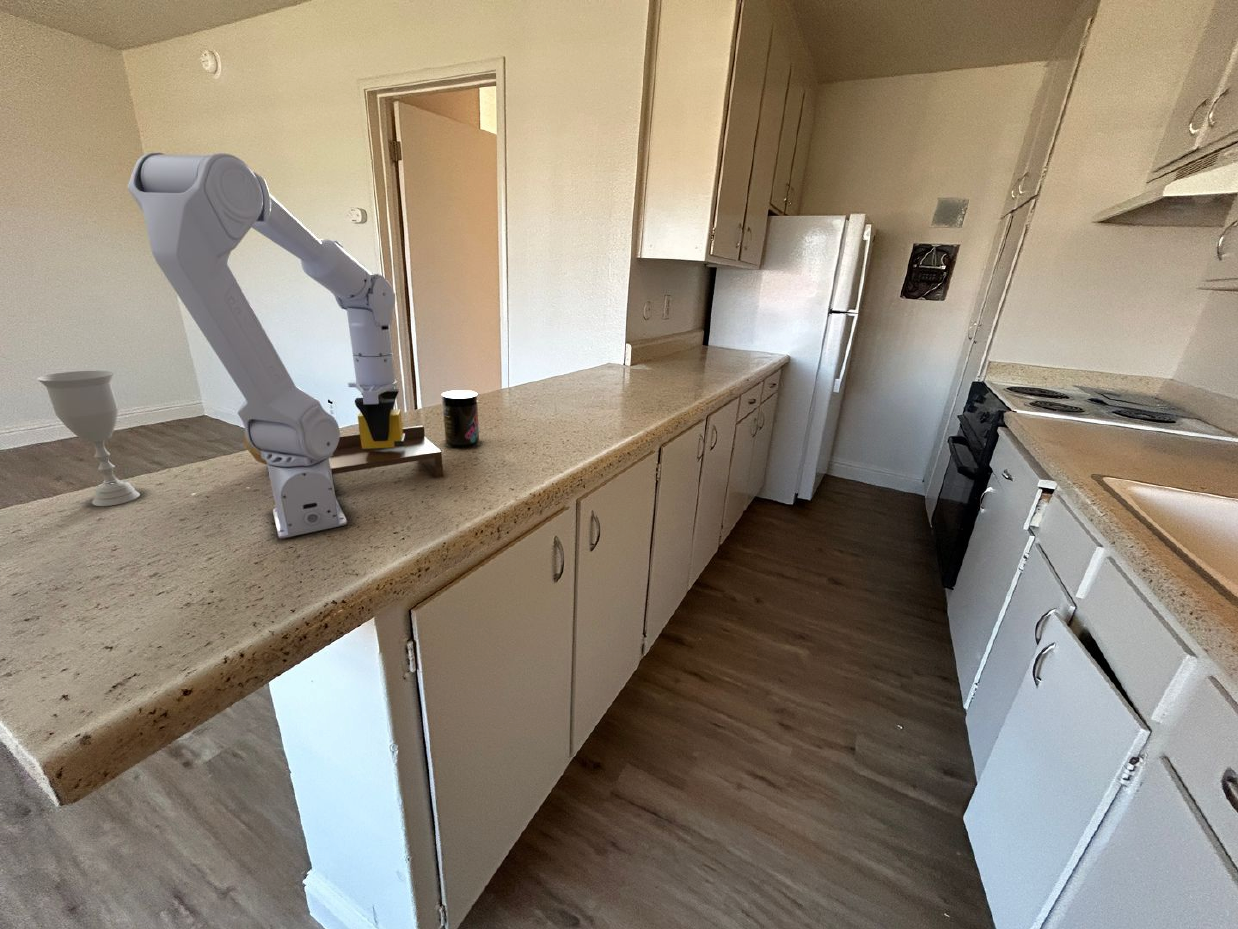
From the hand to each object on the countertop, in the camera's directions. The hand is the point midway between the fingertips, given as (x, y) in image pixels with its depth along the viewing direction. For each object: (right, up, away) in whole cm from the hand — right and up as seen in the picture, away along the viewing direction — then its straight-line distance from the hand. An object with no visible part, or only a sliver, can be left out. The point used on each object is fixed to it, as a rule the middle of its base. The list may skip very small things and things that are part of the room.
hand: (382, 436), depth 85 cm
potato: (-18, -5, +4) cm, 19 cm away
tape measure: (0, -1, 0) cm, 1 cm away
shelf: (-1, -7, +2) cm, 7 cm away
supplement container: (+7, -1, +20) cm, 21 cm away
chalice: (-34, -10, -11) cm, 37 cm away
